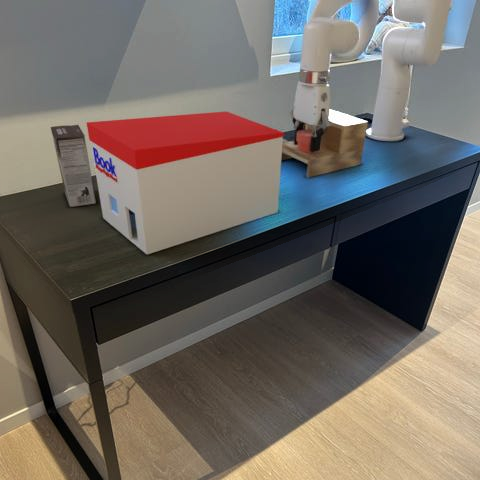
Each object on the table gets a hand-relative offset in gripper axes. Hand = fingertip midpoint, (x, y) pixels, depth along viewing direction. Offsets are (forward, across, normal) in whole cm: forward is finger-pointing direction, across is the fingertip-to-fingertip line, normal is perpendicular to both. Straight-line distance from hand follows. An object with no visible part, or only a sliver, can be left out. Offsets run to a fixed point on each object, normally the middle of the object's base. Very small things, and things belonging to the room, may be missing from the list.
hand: (306, 146), depth 136 cm
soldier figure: (+5, +16, -4) cm, 17 cm away
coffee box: (+6, +11, +62) cm, 64 cm away
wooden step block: (+5, 0, -5) cm, 7 cm away
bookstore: (+6, -12, +44) cm, 46 cm away
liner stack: (+1, 0, 0) cm, 1 cm away
